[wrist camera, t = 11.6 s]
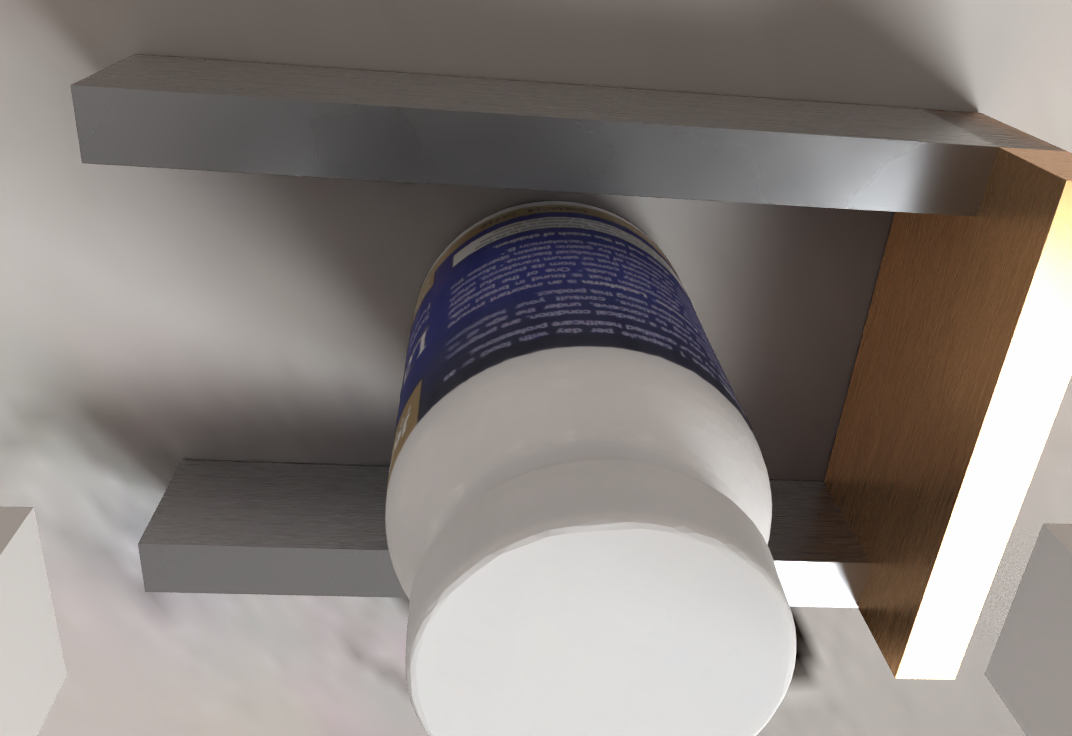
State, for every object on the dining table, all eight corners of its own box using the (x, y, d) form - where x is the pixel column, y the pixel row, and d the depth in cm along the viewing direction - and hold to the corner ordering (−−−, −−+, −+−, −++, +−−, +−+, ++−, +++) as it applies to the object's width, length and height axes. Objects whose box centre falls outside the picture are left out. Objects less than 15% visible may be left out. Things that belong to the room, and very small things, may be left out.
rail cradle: (186, 503, 21) (109, 665, 17) (135, 54, 17) (11, 112, 12) (860, 524, 23) (954, 679, 18) (980, 113, 18) (1143, 185, 14)
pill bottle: (369, 249, 19) (270, 570, 10) (638, 151, 18) (790, 400, 9) (472, 471, 21) (468, 882, 12) (711, 392, 21) (884, 766, 12)
